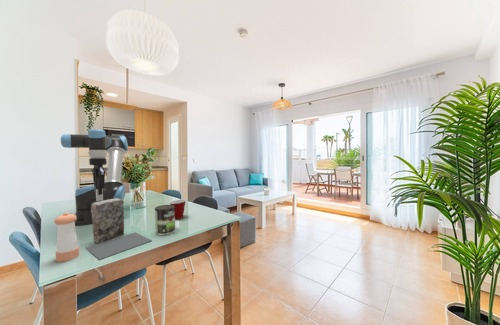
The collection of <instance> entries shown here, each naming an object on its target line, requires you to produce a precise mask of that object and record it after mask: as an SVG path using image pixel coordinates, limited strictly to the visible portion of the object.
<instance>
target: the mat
mask: <svg viewBox="0 0 500 325" xmlns="http://www.w3.org/2000/svg"><path fill="white" fill-rule="evenodd" d="M150 242H152V239H150V238H148V237H146V236H144V235H142V234H140V233H137V232H131V233H129V234H125V235H121V236H118V237H116V238H113V239H111V240H108V241H105V242H102V243H95V244H93V245H89V246H86V247H85V249H86V251H87V252H89V253H90V254H91V255H92V256H94V257H95V258H96V259H97V260H98V261H101V260H105V259H106V258H110V257H113V256H115V255H117V254H120V253H123V252H127V251H128V250H133V249H135V248H137V247H140V246H142V245H145V244H147V243H150Z"/></svg>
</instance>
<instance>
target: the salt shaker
mask: <svg viewBox="0 0 500 325" xmlns="http://www.w3.org/2000/svg"><path fill="white" fill-rule="evenodd" d="M76 219H77V217H76V215H75V214H73V213H68V212H64V213H63V214H61V215H59V216H57V217H56V218H55V219H54V225H57V227H56V229H57V235H56V236H57V237H56V243H55V245H56V251H55V261H56V262H57V263H63V262H68V261H70V260H74V259H76V258H77V257H79V256H80V249H79V248H80V247H79V245H78V236H77V233H76V232H77V231H76V225H75V222H74V221H76Z"/></svg>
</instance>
